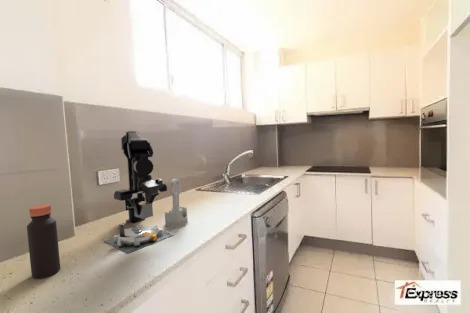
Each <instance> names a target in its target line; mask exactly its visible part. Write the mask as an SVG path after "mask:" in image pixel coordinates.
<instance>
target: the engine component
mask: <svg viewBox="0 0 470 313" xmlns="http://www.w3.org/2000/svg"><path fill="white" fill-rule="evenodd" d="M175 187H176V189H175ZM181 191H182V184H181V181H180V179H178V178H173V179H171V181H170V183H169V193H170V195H171V198H172V207H171V208H170V209H169V210H168V211H165V212H164V219H165V221H164V222H165V223H164V224H165V226H166V227H168V228H175V227H176V228H177V227H182V226H185V225H187V224H188V223H189V221H188V220H189V219H188V210H187V207H186V206H180V194H181Z"/></svg>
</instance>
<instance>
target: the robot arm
mask: <svg viewBox="0 0 470 313" xmlns="http://www.w3.org/2000/svg"><path fill="white" fill-rule="evenodd" d="M120 146H121V148H120V149H121V150H122V153H123V155H124V157H126V160H127V162H126V163H127V175H128V176H127V177H128V178H127V180H128V189H120V190H119V189H118V190H115V192H114V193H113V199H114V200H117V201H124V210H125V211H128V219H126V220H125V222H128V223H131V224H135V223H138V222H141V221H145V220H146V218H145V219H142V218H139V217H136V216H135V212H136V214H137V215H139V213H140V211H139V202H142V201H146V202H150V203H152V204H153V203H154V200H155V199H156V197H157V196H159V195H160V193H163V192H168V186H167V184H166V183H163V179H161V178H156V179H154V180H153V179H152V175H151V173H152V172H153V170H154V164H153V162H152V160H150V159H149V158H153V156H154V151H153V147H152V146H153V145H152V144H151V142H150V141H149V140H148V139H147V138H142V137H141V136H140V132H139V131H137V130H133V131H132V130H131V131H129V130H128V131H125V135H124V136H122V137H121V139H120ZM159 192H160V193H159ZM134 210H135V211H134Z"/></svg>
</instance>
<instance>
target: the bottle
mask: <svg viewBox="0 0 470 313" xmlns="http://www.w3.org/2000/svg"><path fill="white" fill-rule="evenodd" d="M51 215H52V206H51V204H42V205H41V204H40V205H36V206H32V207H30V208H29V216H30V219H31V221H30V222H29V223H28V224H27V226H26V231H27V234H26V235H27V241H28V242H27V243H28V244H27V245H28V253H29V262H30V263H29V264H30V272H31V273H30V274H31V278H33V279H36V280H38V279H45V278H49V277H51V276H52V275H53V276H54V275H55V274H56V273H58V272H60V270H61V260H60V259H61V257H60V249H59V238H58V229H57V228H58V227H57V226H58V225H57V221H56V220H55V219H54V218H53V217H51Z"/></svg>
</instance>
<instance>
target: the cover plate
mask: <svg viewBox="0 0 470 313" xmlns="http://www.w3.org/2000/svg"><path fill="white" fill-rule="evenodd" d="M173 236H174V234H172V233H169V232H167V231H163V230H162V234H159V235H158V237H157V239H156V240H154V241H152V240H151V241H149V242H146V243H142V244H140V245H137V246H134V245H122V246H119V245H117V241H114V236H113V237H111V238H108V239H104V240H103V242H104V243H106V244H108V245H109V246H110V245H111V246H112V247H114V248H116V249H118V250H119V251H122V252H124V253H126V254H130V253H133V252H135V251H138V250H140V249H143V248H145V247H146V248H147V246H151V245H153V244H155V243H157V242H160V241H163V240H165V239H168V238H171V237H173Z"/></svg>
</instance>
